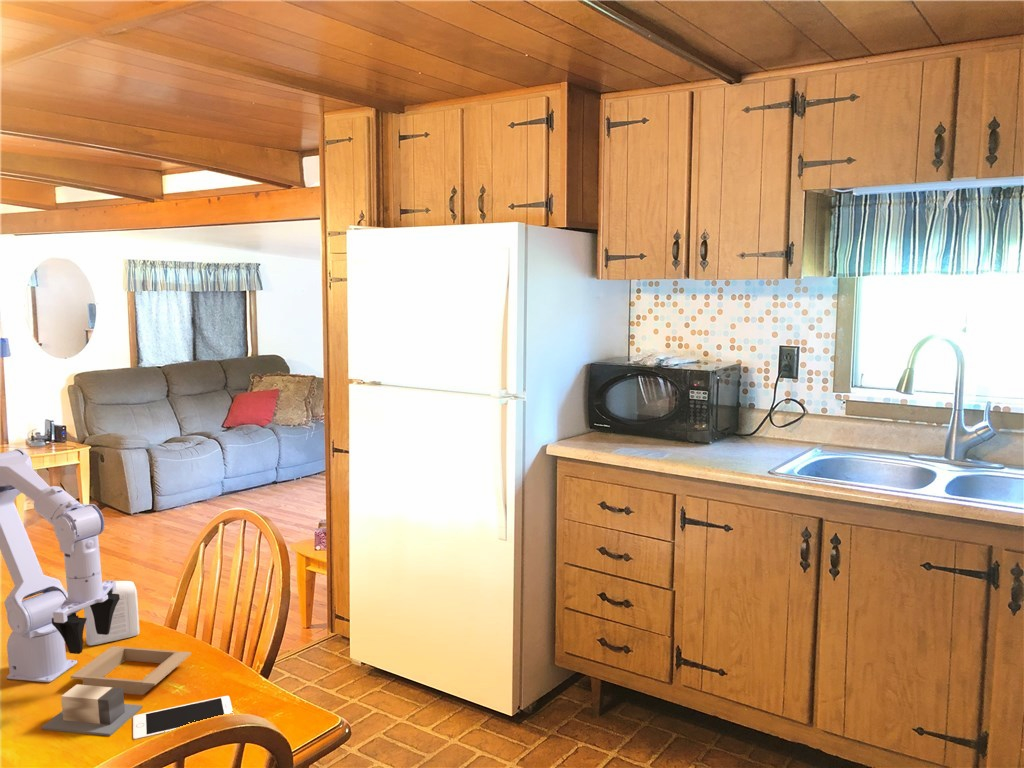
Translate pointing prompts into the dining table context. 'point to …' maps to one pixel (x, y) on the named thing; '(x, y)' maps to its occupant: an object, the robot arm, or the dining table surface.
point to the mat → (91, 728)
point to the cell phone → (178, 716)
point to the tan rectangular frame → (117, 655)
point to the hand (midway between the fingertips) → (89, 643)
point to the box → (93, 704)
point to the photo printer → (117, 617)
